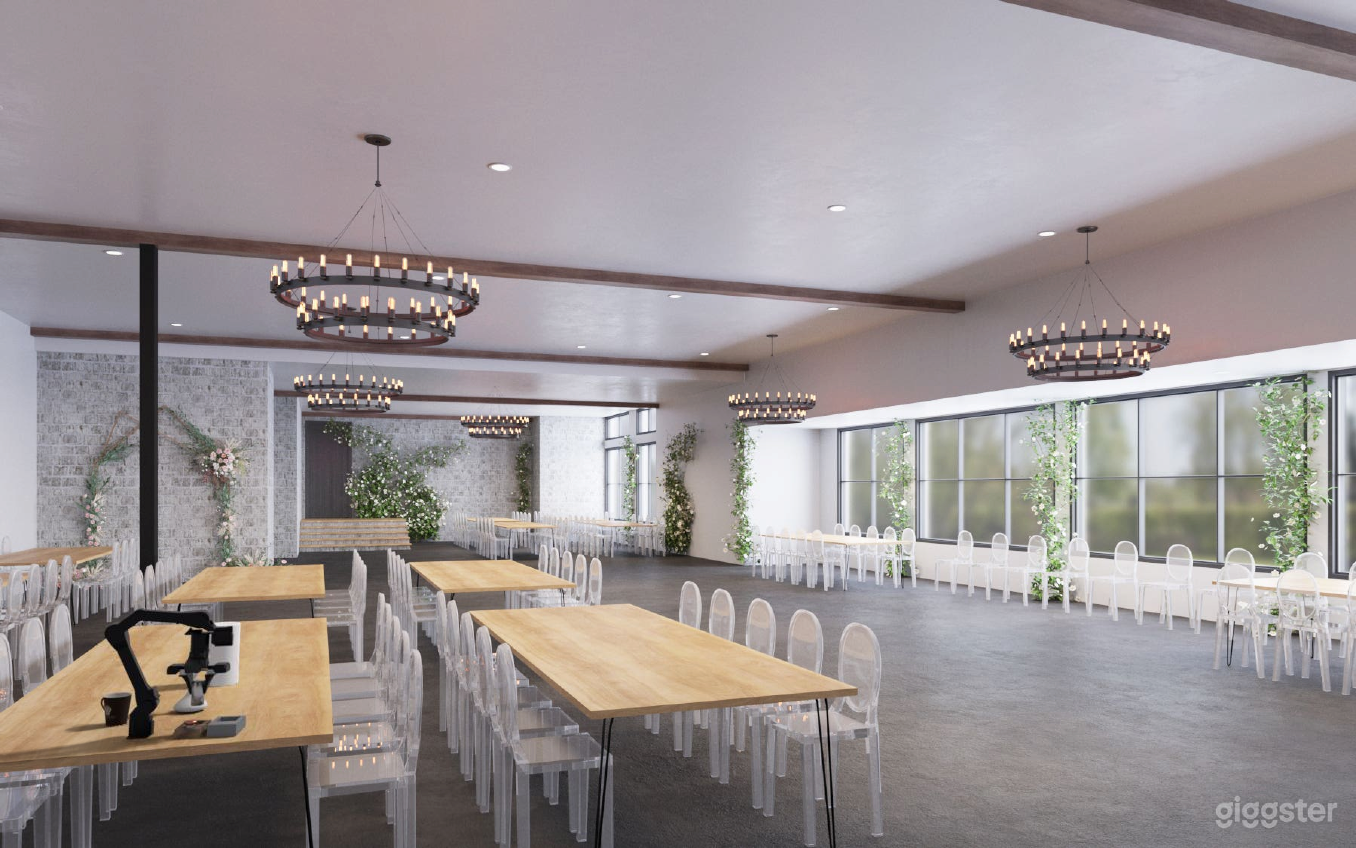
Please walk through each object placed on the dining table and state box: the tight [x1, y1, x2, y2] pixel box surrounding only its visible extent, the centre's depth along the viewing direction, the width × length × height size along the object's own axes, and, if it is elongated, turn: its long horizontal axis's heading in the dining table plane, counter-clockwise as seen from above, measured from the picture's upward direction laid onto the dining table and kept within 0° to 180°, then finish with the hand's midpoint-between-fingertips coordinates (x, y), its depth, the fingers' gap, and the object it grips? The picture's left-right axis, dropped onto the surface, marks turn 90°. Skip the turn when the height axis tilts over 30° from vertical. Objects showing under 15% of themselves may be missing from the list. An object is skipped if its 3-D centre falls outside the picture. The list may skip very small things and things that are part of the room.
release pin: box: [183, 719, 198, 728], centre depth 308 cm, size 4×4×4 cm
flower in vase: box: [172, 656, 210, 713], centre depth 344 cm, size 13×11×25 cm
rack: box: [206, 714, 247, 738], centre depth 313 cm, size 9×12×4 cm
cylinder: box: [205, 621, 242, 688], centre depth 392 cm, size 12×12×25 cm
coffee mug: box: [100, 691, 133, 727], centre depth 324 cm, size 12×9×10 cm
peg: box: [191, 679, 205, 706], centre depth 314 cm, size 4×4×8 cm
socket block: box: [173, 719, 213, 740], centre depth 311 cm, size 8×12×3 cm, turn 11°
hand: (197, 694), depth 314 cm, fingers closed on peg, 4 cm apart
